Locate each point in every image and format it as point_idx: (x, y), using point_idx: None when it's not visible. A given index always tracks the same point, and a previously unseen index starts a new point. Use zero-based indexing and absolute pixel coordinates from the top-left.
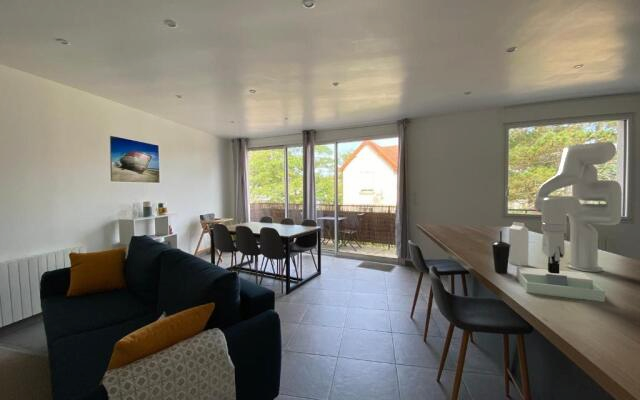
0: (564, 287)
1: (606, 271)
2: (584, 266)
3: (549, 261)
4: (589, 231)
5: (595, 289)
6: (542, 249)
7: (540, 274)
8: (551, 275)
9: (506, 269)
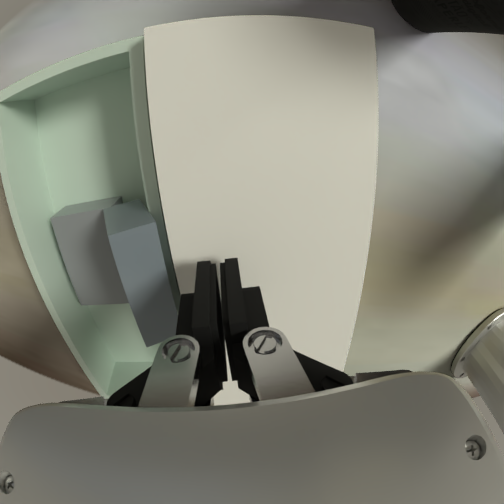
0: (41, 285)
1: (453, 378)
2: (473, 355)
3: (246, 343)
4: None
5: (96, 382)
6: (432, 416)
7: (172, 183)
8: (117, 263)
9: (419, 14)
